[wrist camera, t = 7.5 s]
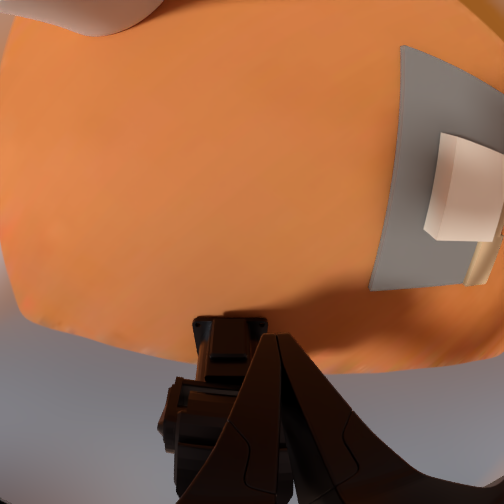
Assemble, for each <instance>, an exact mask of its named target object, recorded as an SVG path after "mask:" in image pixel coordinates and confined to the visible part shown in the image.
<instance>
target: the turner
mask: <svg viewBox="0 0 504 504" xmlns="http://www.w3.org/2000/svg"><path fill="white" fill-rule="evenodd" d="M503 226H504V203H503V207H502V211H501V214H500V218H499V222H498V225H497V228H496V232H495V235H494V238H493V241H492V242H478V243H477V246H476V249H475V252H474V255H473V257H472V260H471V263H470V266H469V268H468V271H467V273H466V276H465V278H464V281H463V285H464V286H465V287H466V286H473V285H481V284H486V282H487V279H488V277H489V275H490V272H491V270H492V267H493V265H494V262H495V260H496V257H497V254H498V251H499V249H500V246H501V243H502V240H503V237H504V236H503V235H502V234H501V232H502V229H503Z"/></svg>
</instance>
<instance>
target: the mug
mask: <svg viewBox="0 0 504 504" xmlns="http://www.w3.org/2000/svg"><path fill="white" fill-rule="evenodd" d="M163 1H164V0H0V13H5V14H11V15H16V16H21V17H25V18H30V19H34V20H38V21H42V22H45V23H49V24H53V25H56V26H59V27H62V28H65V29H68V30H71V31H73V32H76V33H79V34H82V35H86V36H107V35H111V34H115V33H118V32H121V31H123V30H125V29H128V28H130V27H131V26H133V25H135V24H137V23H138V22H140V21H141V20H143V19H144V18H146V17H147V16H148V15H150V14H151V13H152V12H153V11H154V10H155V9H156V8H157V7H158V6H159V5H160V4H161V3H162V2H163Z"/></svg>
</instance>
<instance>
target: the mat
mask: <svg viewBox="0 0 504 504" xmlns="http://www.w3.org/2000/svg"><path fill="white" fill-rule="evenodd" d="M400 50H401V87H400V109H399V124H398V135H397V145H396V153H395V161H394V169H393V176H392V182H391V189H390V194H389V200H388V206H387V211H386V216H385V221H384V226H383V230H382V235H381V239H380V244H379V248H378V252H377V256H376V260H375V264H374V268H373V272H372V275H371V279H370V282H369V286H368V288H369V290H370V291H383V290H397V289H409V288H421V287H432V286H442V285H452V284H461V283H463V281H464V278H465V276H466V273H467V271H468V268H469V266H470V263H471V260H472V257H473V255H474V252H475V249H476V246H477V243H478V242H477V241H439V240H435V239H434V238H433V237H432V236H431V235H430V234H428V233H427V232H426V231H425V230H424V225H425V221H426V216H427V212H428V208H429V203H430V199H431V194H432V189H433V183H434V178H435V172H436V166H437V159H438V152H439V144H440V135H441V133H445V134H449V135H453V136H457V137H460V138H463V139H465V140H468V141H471V142H474V143H476V144H479V145H482V146H484V147H487V148H489V149H491V150H494V151H496V152H499V153H501V154H503V155H504V94H502V93H501V92H499V91H498V90H496V89H495V88H493V87H491V86H490V85H488V84H487V83H485V82H483V81H481V80H480V79H478V78H476V77H474V76H473V75H471V74H469V73H467V72H465V71H463V70H461V69H459V68H457V67H455V66H453V65H451V64H449V63H447V62H445V61H443V60H441V59H438V58H436V57H434V56H431V55H429V54H427V53H424V52H422V51H419V50H417V49H414V48H411V47H408V46H406V45H403V46H400Z"/></svg>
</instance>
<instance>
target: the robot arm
mask: <svg viewBox="0 0 504 504" xmlns="http://www.w3.org/2000/svg"><path fill="white" fill-rule="evenodd" d="M197 323H199V324H197ZM260 323H264V324H260ZM192 326H193V332H194V337H195V343H196V348H197V354H198V363H197V371H196V379H195V380H189V379H184V378H182V377H176V381H175V384H173V385H172V387H171V388H169V390H168V395H167V401H166V405H165V408H164V410H163V412H162V415H161V417H160V420H159V422H158V427H157V430H158V431H159V433H160V434H161V435H162V436H163V441H164V443H165V450H166V452H167V453H173V454H175V455H174V483H175V485H176V492H177V495H178V496H179V498H180V499H179V500H178V501H177V502H176V504H288V502H289V501H290V499H291V498H292V496H293V479H294V484H295V488H296V494H297V498H298V503H299V504H504V476H502V477H501V478H499V479H497V480H496V481H494V482H492V483H490V484H488V485H487V486H485V487H475V486H469V485H464V484H460V483H455V482H451V481H446V480H442V479H438V478H435V477H431V476H428V475H425V474H423V473H421V472H419V471H417V470H416V469H414V468H413V467H412V466H410V465H409V464H408V463H407V462H406V461H404V460H403V459H402V458H401V457H400V456H399V455H397V454H396V453H395V452H394V451H393V450H392V449H391V448H389V447H388V446H387V445H386V444H385V443H384V442H383V441H381V440H380V439H379V438H378V437H377V436H376V435H375V434H374V433H373V432H372V431H371V430H370V429H369V428H368V427H367V426H366V424H365V423H364V422H363V421H362V420H361V419H360V418H359V416H358V415H357V414H356V413H355V412H354V411H352V408H351V407H350V406H349V405H348V403H347V402H346V401H345V400H344V399H343V398H342V396H341V395H340V394H339V393H338V392H337V390H336V389H335V388H334V387H333V385H332V384H331V383H330V382H329V381H328V379H327V378H326V377H325V376H324V375H323V373H322V372H321V371H320V370H319V368H318V367H317V366H316V365H315V364H314V362H313V361H312V360H311V359H310V357H309V356H308V355H307V354H306V352H305V351H304V350H303V349H302V348H301V346H300V345H299V344H298V343H297V341H296V340H295V339H294V338H293V336H292V335H291V334H290V333H277V334H275V333H267V329H268V322H267V320H266V319H265V318H195V319H194V320H193V323H192ZM0 504H11V503H10V502H8V501H6V500H4V499H2V498H0Z"/></svg>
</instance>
